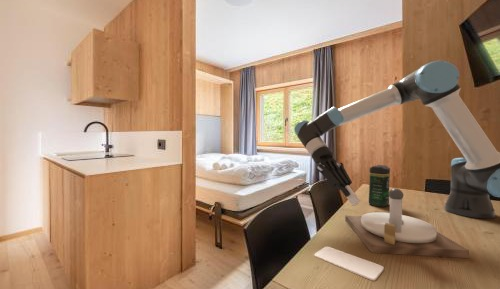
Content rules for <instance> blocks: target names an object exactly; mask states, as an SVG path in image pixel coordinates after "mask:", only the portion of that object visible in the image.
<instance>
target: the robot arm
mask: <svg viewBox="0 0 500 289" xmlns="http://www.w3.org/2000/svg"><path fill="white" fill-rule="evenodd" d="M459 78H460V72H459V69H458V68H457V66H456V65H455V64H453V63H451V62H449V61H446V60H435V61H431V62H428V63H425V64H424V65H422V66H420V67H419V68H418V69H416V70H414V71H413V72H410V73H409V74H407V75H406V76H405V77H403V78H401V79H400V80H399V81H397V82H394V83H392V84H390V85H388V88H386V89H384V90H381V91H378V92H376V93H373V94H371V95H369V96H367V97H364V98H361V99H359V100H357V101H355V102H352V103H349V104H347V105H344V106H342V107H340V108H337V107H336V106H332V107H331V108H328V109H326V110H325V111H324V112H323V113H321V114H320V115H318V116H316V117H315V118H314V119H312V120H310V121H308V120H306V119H302V120H301V121H299V122H297V123H296V124H295V126H294V129H293V131H294V133H295V135H296V136H297V138H298V140H299V142H301V144H302V145H303V147H304V148H305V149H306V151H307V152H308V154H309V155H310V157H311V159H312V160H313V162H314V163H315V164H316V165H317V167H316V168H315V170H316V171H318V172H319V173H320V174H321V175H322V176H323V177H324V178H325V179H326V181H327V182H328V183H329V184H330V185H331V186H332V187H333V188H334V189H335V190H336V189H337V191H338V192H340V191H341V192H342V193H343V195H344V196H345V197H346V198H347V200H348V202H349V203H350V204H351V205H352V206H353V207H354V206H357V205H358V204H359V203H361V199H360V198H359V197H358V195H357V194H356V192H355V191H354V190H353V188H352V187H351V184H352V183H353V181H352V179H351V178H350V176H349V174H348V173H347V171H346V168H345V167H344V163H343V162H340V163H339V162H337V160H336V159H335V158H334V157H333V154H334V153H333V152H332V150H331V149H330V148H329V146H328V145H327V144H326V141H324V140H323V139H322V136H324V135H325V134H326V133H329V132H330V131H331V130H333V129H336V128H338V127H340V126H342V125H345V124H348V123H351V122H353V121H356V120H357V119H360V118H363V117H366V116H367V115H368V116H369V115H371V114H373V113H376V112H378V111H381V110H384V109H386V108H389V107H391V106H394V105H395V106H401V105H403V104H406V103H409V102H414V101H418V100H420V102H421V103H422V104H423V106H424V107H428V108H431V110H432V111H433V112H434V113H435V116H436V117H437V118H438V120H439V121H440V123H441V124H442V126H443V127H444V129H445V130H446V132H447V133H448V135H449V136H450V137H451V139H452V140H453V142H454V144H455V145H456V147H457V148H458V150H459V151H460V153H461V154H462V156H463V157H455V158H453V159H452V160H451V163H450V191H449V192H450V193H449V194H448V196H447V199H446V202H445V204H444V210H446V211H447V212H448V213H449V212H450V213H452V214H455V215H459V216H462V217H463V216H464V217H467V218H468V217H469V218H475V219H487V220H489V219H495V218H496V210H495V209H494V206H493V203H492V201H491V199H490V196H493V197H496V198H500V152H499V151H498V150H497V149H496V148H495V146H494V144H493V143H492V142H491V140H490V139H489V137H488V136H487V134H486V133H485V131H484V130H483V128H482V127H481V126H480V124H479V123H478V121H477V119H476V118H475V117H474V115H473V114H472V113H471V111H470V110H469V108H468V106H467V105H466V104H465V102H464V100H463V99H462V98H461V96H460V94H459V93H460V92H461V89H462V88H461V86H460V84H459V80H460V79H459Z"/></svg>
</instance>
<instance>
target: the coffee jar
mask: <svg viewBox="0 0 500 289" xmlns="http://www.w3.org/2000/svg"><path fill="white" fill-rule="evenodd" d="M368 174H369V183H368V184H369V187H368V205H372V206H373V207H383V208H385V207H388V206H389V205H390V197H389V191H390V176H391V168H390V167H389V166H387V165H384V164H377V165H373V166H371V167H369V172H368Z"/></svg>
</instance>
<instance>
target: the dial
mask: <svg viewBox="0 0 500 289" xmlns="http://www.w3.org/2000/svg"><path fill="white" fill-rule="evenodd" d="M403 200H404V193H403V191H402V190H401V189H399V188H396V187H395V188H392V189H389V212H377V211H375V212H367V213H364V214H362V215H360V216H361V225H362V227H363V228H364V229H365V230H367V231H369V232H371V233H373V234H375V235H378V236H380V237H383V238H384V228H385V223H388V224H393V225H396V226H395V241H400V242H407V243H429V242H433V241H435V240H436V235H437V232H438V231H437V228H436V227H435V226H434V225H432V224H431V223H429V222H427V221H424V220H423V219H419V218H417V217H413V216H408V215H404V214H403Z"/></svg>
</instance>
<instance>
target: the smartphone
mask: <svg viewBox="0 0 500 289" xmlns="http://www.w3.org/2000/svg"><path fill="white" fill-rule="evenodd" d="M314 257H315V258H317V259H319V260H322V261H325V262H327V263H329V264H332V265H335V266H336V267H339V268H341V269H343V270H345V271H347V272H350V273H353V274H355V275H358V276H361V277H362V278H365V279H367V280H370V281H376V280H377V279H378V278H379V276H380V275H381V274H382V273H383V271H384V266H382V265H380V264H378V263H375V262H373V261H370V260H367V259H364V258H361V257H358V256H356V255H354V254H351V253H348V252H347V253H346V252H345V251H342V250H339V249H336V248H333V247H331V246H324V247H322V248H321V249H319V250H318V251H317V252H315V253H314Z"/></svg>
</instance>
